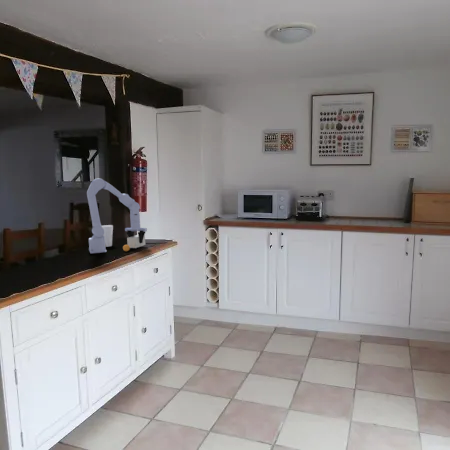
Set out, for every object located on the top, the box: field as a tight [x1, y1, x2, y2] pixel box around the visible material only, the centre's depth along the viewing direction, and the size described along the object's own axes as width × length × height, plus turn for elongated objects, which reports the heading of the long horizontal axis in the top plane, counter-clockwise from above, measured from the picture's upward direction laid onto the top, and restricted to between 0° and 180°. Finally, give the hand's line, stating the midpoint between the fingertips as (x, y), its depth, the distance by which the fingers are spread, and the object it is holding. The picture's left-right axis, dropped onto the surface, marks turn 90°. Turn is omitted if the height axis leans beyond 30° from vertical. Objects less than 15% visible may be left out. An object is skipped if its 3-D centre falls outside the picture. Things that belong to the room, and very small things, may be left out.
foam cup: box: [101, 224, 114, 248], centre depth 271 cm, size 10×9×13 cm
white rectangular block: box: [126, 234, 146, 249], centre depth 259 cm, size 11×6×6 cm, turn 159°
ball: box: [122, 244, 131, 252], centre depth 250 cm, size 4×4×4 cm
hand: (136, 242), depth 260 cm, fingers closed on white rectangular block, 6 cm apart
